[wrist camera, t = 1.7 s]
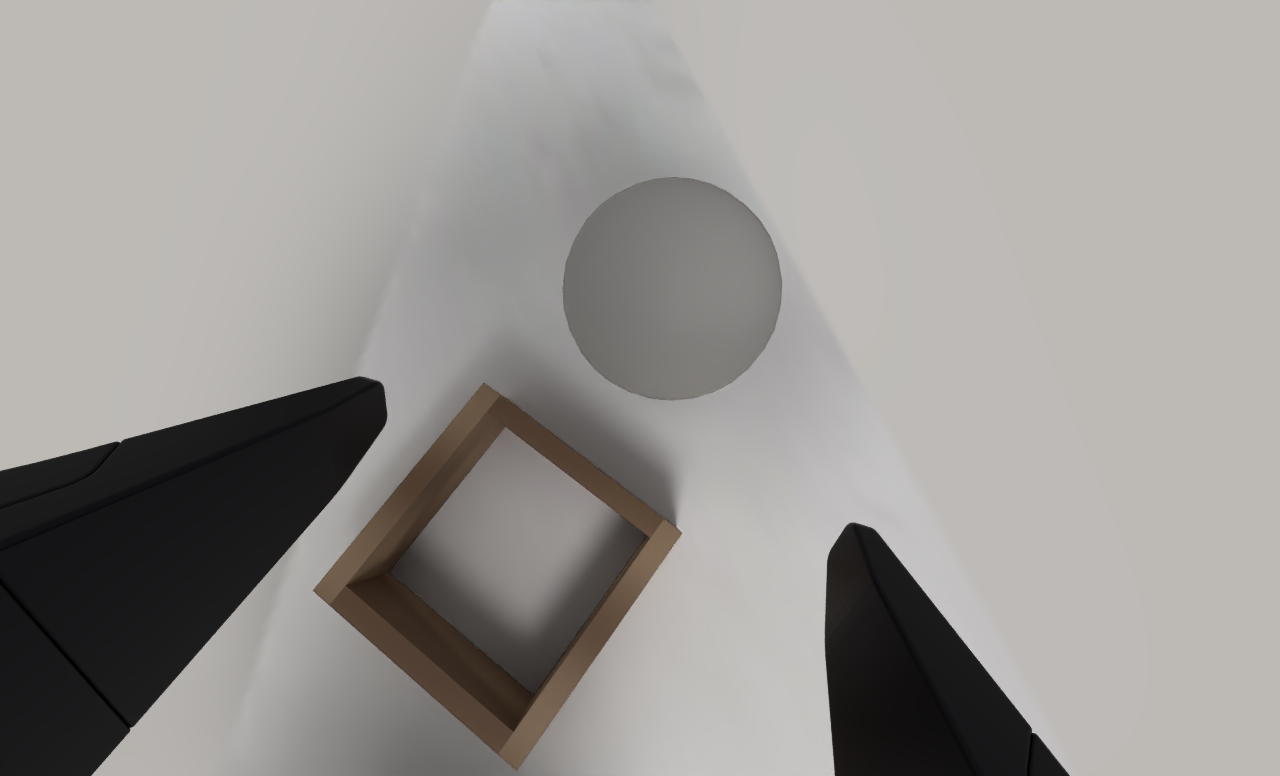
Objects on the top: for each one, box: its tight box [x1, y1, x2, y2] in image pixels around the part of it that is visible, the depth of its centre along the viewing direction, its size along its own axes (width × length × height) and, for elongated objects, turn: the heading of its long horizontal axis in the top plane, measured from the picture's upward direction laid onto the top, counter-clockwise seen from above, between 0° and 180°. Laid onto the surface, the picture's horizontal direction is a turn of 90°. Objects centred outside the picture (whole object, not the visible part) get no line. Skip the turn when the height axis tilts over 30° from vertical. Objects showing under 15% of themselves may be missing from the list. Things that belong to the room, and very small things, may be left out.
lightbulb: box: [563, 177, 782, 400], centre depth 16 cm, size 6×6×11 cm
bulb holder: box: [313, 383, 682, 771], centre depth 19 cm, size 9×9×3 cm
